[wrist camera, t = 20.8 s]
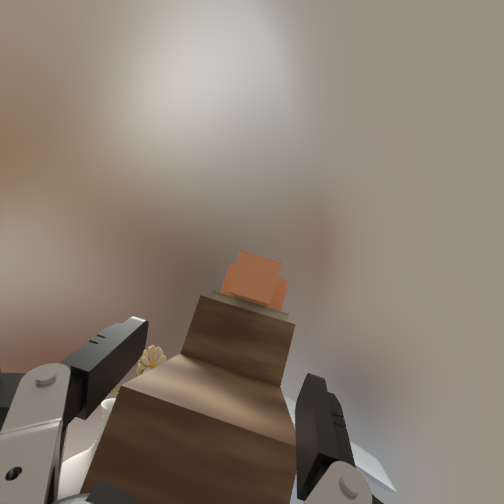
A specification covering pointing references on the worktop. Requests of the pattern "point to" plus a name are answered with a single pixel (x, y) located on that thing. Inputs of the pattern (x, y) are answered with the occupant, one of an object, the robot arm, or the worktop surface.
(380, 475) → the worktop surface
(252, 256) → the coral tab brick
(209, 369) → the walnut step stand
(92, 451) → the flower in vase
